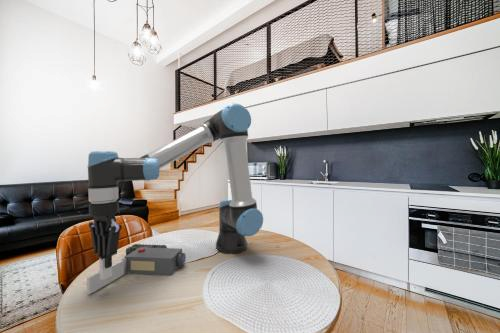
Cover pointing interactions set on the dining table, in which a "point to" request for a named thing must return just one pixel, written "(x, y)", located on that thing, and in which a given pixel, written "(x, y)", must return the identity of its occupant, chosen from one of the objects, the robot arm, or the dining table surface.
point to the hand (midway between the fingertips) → (106, 277)
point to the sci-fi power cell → (136, 246)
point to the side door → (97, 283)
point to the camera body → (154, 261)
